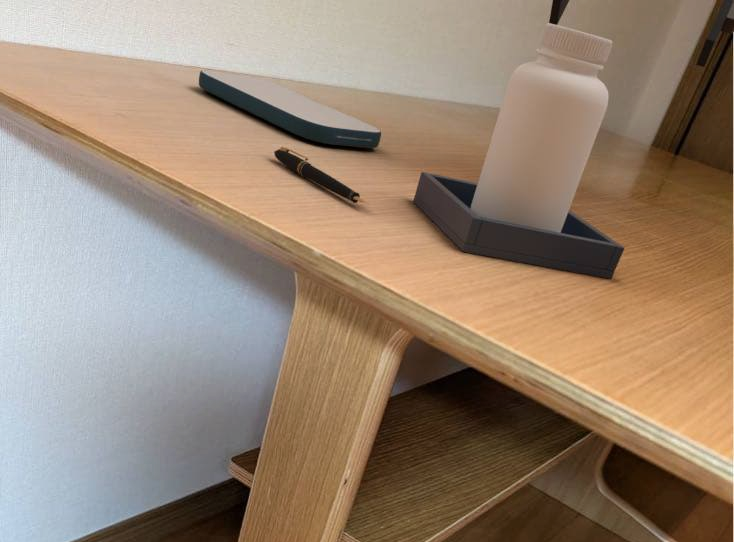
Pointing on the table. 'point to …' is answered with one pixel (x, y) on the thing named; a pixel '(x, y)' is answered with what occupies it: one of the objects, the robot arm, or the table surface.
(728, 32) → the robot arm
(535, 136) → the pill bottle
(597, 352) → the table surface
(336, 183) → the fountain pen
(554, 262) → the tray
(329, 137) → the external hard drive
